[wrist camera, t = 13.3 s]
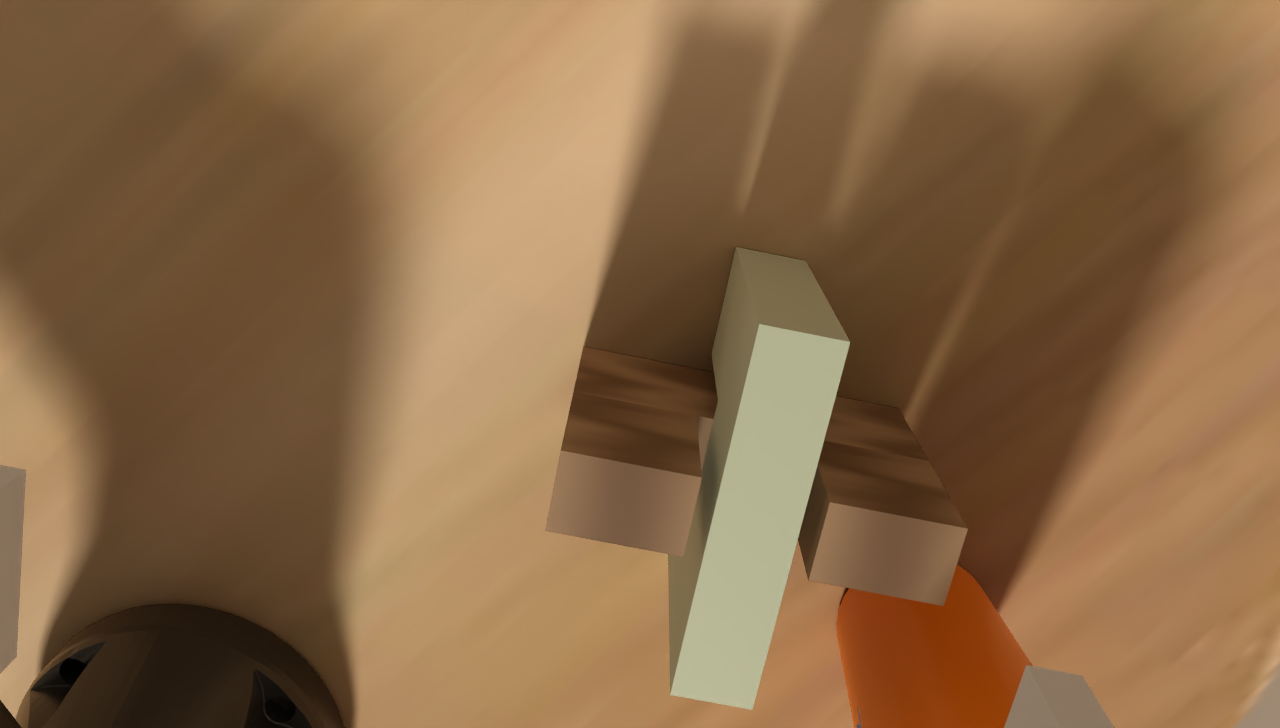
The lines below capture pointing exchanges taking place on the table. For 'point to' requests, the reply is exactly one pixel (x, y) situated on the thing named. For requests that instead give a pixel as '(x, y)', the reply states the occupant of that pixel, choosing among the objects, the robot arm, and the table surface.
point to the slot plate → (753, 474)
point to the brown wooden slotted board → (671, 476)
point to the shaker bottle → (928, 659)
